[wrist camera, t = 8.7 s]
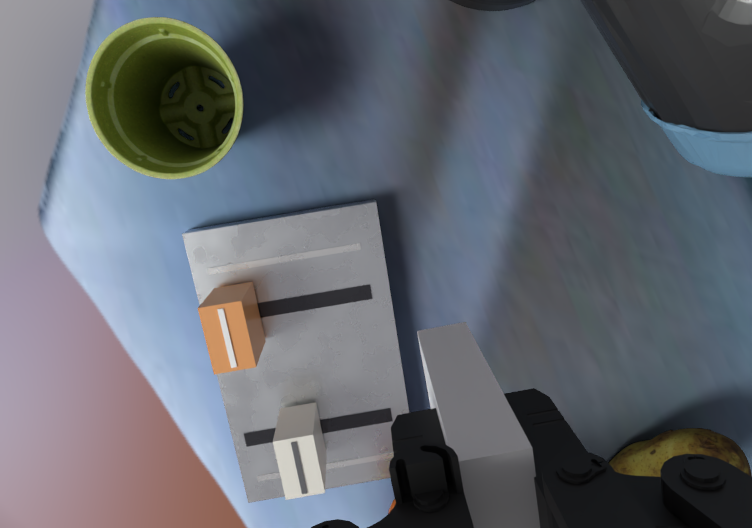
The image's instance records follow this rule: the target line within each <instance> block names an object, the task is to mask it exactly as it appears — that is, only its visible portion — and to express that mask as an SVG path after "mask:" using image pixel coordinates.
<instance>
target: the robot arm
mask: <svg viewBox="0 0 752 528" xmlns="http://www.w3.org/2000/svg"><path fill="white" fill-rule="evenodd" d="M450 1H452V2H454V3H457V4H459V5H462V6H465V7H468V8H472V9H477V10H484V11H501V10H508V9H513V8H517V7H521V6H523V5H526V4H529V3H531V2H533V1H535V0H450ZM581 2H582V4H583V5H584V7H585V8H586V10H587V12H588V13H589V15H590V17H591V18H592V20H593V21H594V23H595V25H596V26H597V28H598V29H599V31H600V33H601V34H602V36H603V38H604V39H605V41H606V42H607V44H608V46H609V47H610V49H611V51H612V52H613V54H614V55H615V57H616V59H617V60H618V62H619V63H620V65H621V67H622V68H623V70H624V72H625V73H626V75H627V76H628V78H629V80H630V81H631V83H632V85H633V86H634V88H635V89H636V91H637V93H638V94H639V96H640V98H641V105H642V107H643V109H644V111H645V113H646V114H647V115H648V116H649V117H650V118H651V119H652V120H653V121H654V122H656V123H657V124H659V125H660V126H661V128H662V129H663V131H664V132H665V134H666V135H667V137H668V138H669V139H670V141H671V142H672V144H673V145H674V147H675V148H676V150H677V151H678V152H679V153H680V155H681V156H683V157H684V158H685V159H686V160H687V161H688V162H690V163H692V164H694V165H698V166H700V167H702V168H703V169H706V170H708V171H710V172H713V173H716V174H721V175H728V176H737V177H752V0H581ZM417 334H418V340H419V345H420V351H421V357H422V362H423V368H424V373H425V379H426V384H427V390H428V396H429V401H430V407H431V409H428V410H422V411H417V412H411V413H406V414H401V415H397V417H396V419H395V421H394V422H393V424H392V426H391V436H392V445H393V453H394V457H393V458H392V459H391V461H390V466H389V472H390V477H391V482H392V486H393V491H394V496H395V501H396V504H395V506H394V508H393V509H392V510H391V512H390V513H389V514H388V515H387V516H386V517H385V518H383V519H382V520H381V521H379V522H377V523H376V524H374V525H372V526H370V527H368V528H752V477H751V476H749V475H748V474H746V473H745V472H743V471H741V470H740V469H738V468H737V467H735V466H733V465H732V464H730V463H727V462H725V461H723V460H721V459H719V458H716V457H712V456H707V455H703V454H683V455H678V456H673V457H672V458H670V459H668V460H667V461H665V462H664V463H663V465H662V468H661V470H660V474H661V477H655V476H635V475H626V474H621V473H618V472H615V470H614V469H613V468H612V466H611V465H610V464H609V463H608V462H606V461H605V460H604V459H603V458H601V457H599V456H596V455H594V454H592V453H588V452H587V451H586V449H585V448H584V446H583V445H582V444H581V442H580V441H579V439H578V438H577V436H576V435H575V433H574V432H573V430H572V429H571V428H570V426H569V425H568V423H567V422H566V421H565V420H564V417H563V416H562V415H561V413H560V412H559V411H558V409H557V407H556V406H555V404H554V403H553V402H552V400H551V399H550V397H548V396H547V395H545V394H543V393H541V392H540V391H538V390H536V389H534V388H533V389H528V390H523V391H517V392H512V393H506V394H503V392H502V390H501V388H500V386H499V384H498V382H497V380H496V379H495V377H494V375H493V373H492V371H491V369H490V367H489V365H488V364H487V362H486V360H485V358H484V356H483V354H482V352H481V350H480V349H479V347H478V345H477V343H476V341H475V339H474V337H473V335H472V334H471V332H470V330H469V328H468V326H467V324H466V322H463V323H458V324H452V325H447V326H442V327H436V328H431V329H426V330H420V331H417ZM311 528H359V527H358V526H356V525H355V524H353V523H352V522H350V521H345V520H338V519H337V520H330V521H324V522H322V523H320V524H317V525H315V526H313V527H311Z"/></svg>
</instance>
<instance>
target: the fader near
mask: <svg viewBox="0 0 752 528" xmlns="http://www.w3.org/2000/svg"><path fill="white" fill-rule="evenodd" d="M198 311H199V315H200V319H201V323H202V327H203V331H204V335H205V339H206V343H207V347H208V352H209V356H210V360H211V364H212V368H213V372H214V374H220V373H226V372H232V371H237V370H243V369H249V368H255V367H256V366H257V364H258V361H259V358H260V355H261V353H262V350H263V347H264V344H265V342H266V340H265V336H264V331H263V327H262V322H261V318H260V313H259V308H258V304H257V299H256V295H255V290H254V286H253V282H248V283H242V284H236V285H230V286H224V287H218V288H214V289H213V290H212V291H211V293H210V294H209V295H208V296H207V297H206V299H205V300H204V301H203V302H202V304H201V305H200V306H199V307H198Z"/></svg>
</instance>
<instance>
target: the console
mask: <svg viewBox="0 0 752 528" xmlns="http://www.w3.org/2000/svg"><path fill="white" fill-rule="evenodd" d="M182 235H183V239H184V244H185V248H186V252H187V256H188V260H189V264H190V268H191V272H192V276H193V280H194V284H195V288H196V292H197V296H198V300H199V304H200V305H201V304H202V302H203V301H204V300H205V299H206V297H207V296H208V295H209V294H210V293H211V291H212V290H213V289H214V288H218V287H224V286H230V285H236V284H242V283H248V282H253V286H254V290H255V295H256V299H257V304H258V308H259V313H260V318H261V322H262V327H263V331H264V336H265V340H266V342H265V344H264V347H263V350H262V353H261V355H260V358H259V361H258V364H257V366H256V367H255V368H249V369H243V370H237V371H232V372H226V373H220V374H217V377H218V381H219V385H220V389H221V393H222V397H223V401H224V406H225V410H226V414H227V418H228V422H229V426H230V430H231V434H232V438H233V442H234V446H235V450H236V454H237V458H238V462H239V466H240V470H241V474H242V478H243V482H244V487H245V491H246V495H247V499H248V503H250V502H256V501H261V500H267V499H273V498H278V497H284V496H285V494H284V489H283V485H282V481H281V476H280V472H279V467H278V463H277V459H276V454H275V450H274V445H273V438H274V434H275V429H276V425H277V420H278V416H279V411H280V408H286V407H292V406H297V405H303V404H309V403H315V402H316V405H317V410H318V414H319V419H320V424H321V429H322V434H323V439H324V444H325V449H326V454H327V460H326V482H325V489H329V488H335V487H340V486H346V485H352V484H357V483H363V482H369V481H374V480H380V479H386V478H391V477H390V472H389V466H390V461H391V459H392V458H393V457H394V453H393V445H392V436H391V426H392V424H393V422H394V421H395V419H396V417H397V415H401V414H406V413H409V408H408V402H407V395H406V389H405V382H404V376H403V370H402V363H401V357H400V350H399V344H398V338H397V331H396V325H395V319H394V312H393V306H392V299H391V293H390V287H389V280H388V274H387V267H386V261H385V255H384V248H383V242H382V236H381V229H380V223H379V216H378V210H377V204H376V201H375V199H372V200H366V201H360V202H354V203H347V204H341V205H335V206H329V207H323V208H317V209H311V210H305V211H299V212H293V213H287V214H281V215H274V216H268V217H262V218H256V219H250V220H244V221H238V222H232V223H226V224H220V225H214V226H208V227H201V228H195V229H189V230H188V231H186V232H185V233H183V234H182Z"/></svg>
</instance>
